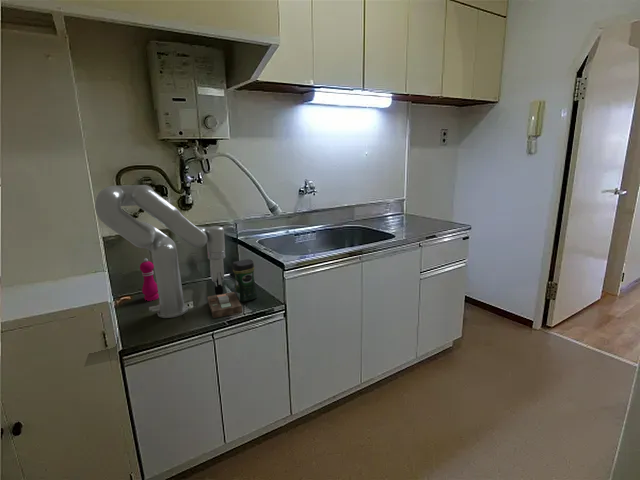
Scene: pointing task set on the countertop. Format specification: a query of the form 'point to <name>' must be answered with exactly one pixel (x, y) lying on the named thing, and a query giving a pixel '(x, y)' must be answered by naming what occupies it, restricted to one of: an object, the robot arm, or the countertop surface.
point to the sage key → (225, 305)
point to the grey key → (223, 299)
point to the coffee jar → (244, 280)
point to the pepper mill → (149, 281)
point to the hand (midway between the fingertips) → (219, 293)
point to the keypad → (216, 307)
